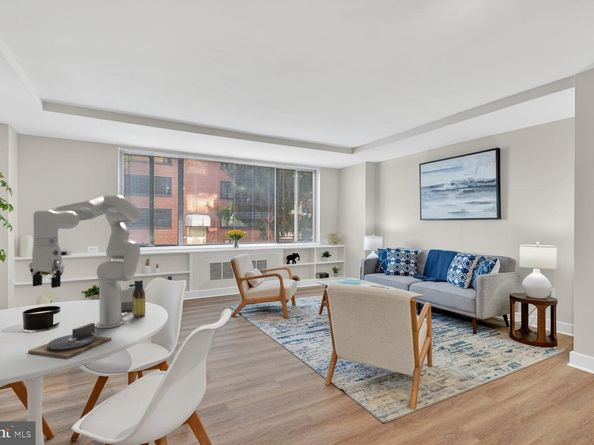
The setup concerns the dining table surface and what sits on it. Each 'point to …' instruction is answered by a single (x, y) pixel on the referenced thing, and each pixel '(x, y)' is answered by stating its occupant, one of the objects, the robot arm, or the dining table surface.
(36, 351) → the dial base plate
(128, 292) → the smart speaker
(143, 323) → the dining table surface
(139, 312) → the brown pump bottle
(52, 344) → the dial
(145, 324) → the dining table surface
